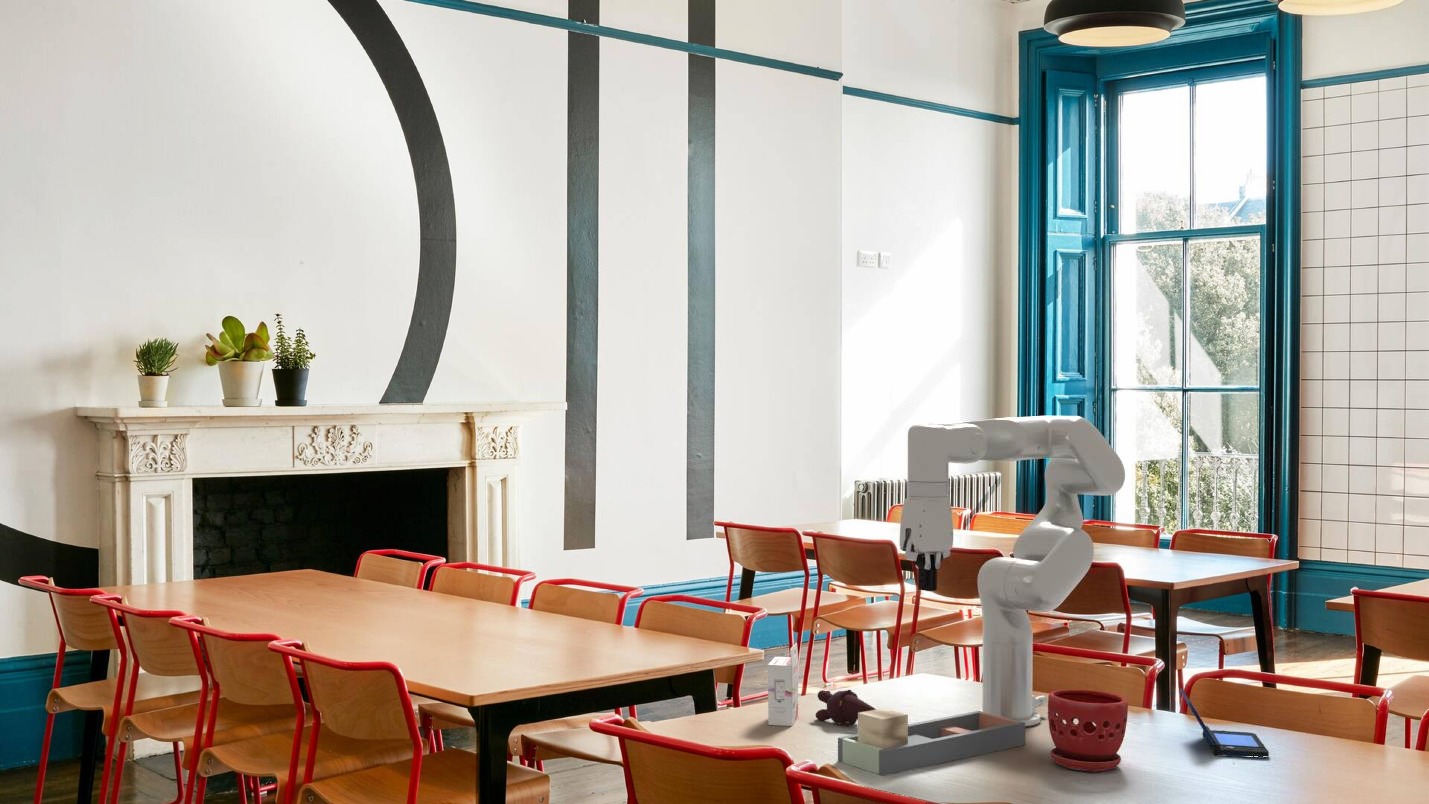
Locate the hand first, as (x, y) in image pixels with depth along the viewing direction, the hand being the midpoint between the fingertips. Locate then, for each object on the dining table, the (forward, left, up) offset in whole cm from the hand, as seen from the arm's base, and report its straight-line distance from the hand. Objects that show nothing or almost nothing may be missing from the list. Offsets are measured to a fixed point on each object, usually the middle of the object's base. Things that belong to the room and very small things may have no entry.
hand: (927, 589), depth 246 cm
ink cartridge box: (+14, -25, -27) cm, 40 cm away
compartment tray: (+8, +9, -27) cm, 30 cm away
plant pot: (-8, +30, -27) cm, 41 cm away
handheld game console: (-38, +36, -28) cm, 60 cm away
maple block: (+20, +9, -25) cm, 33 cm away
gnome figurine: (+6, -15, -27) cm, 32 cm away
